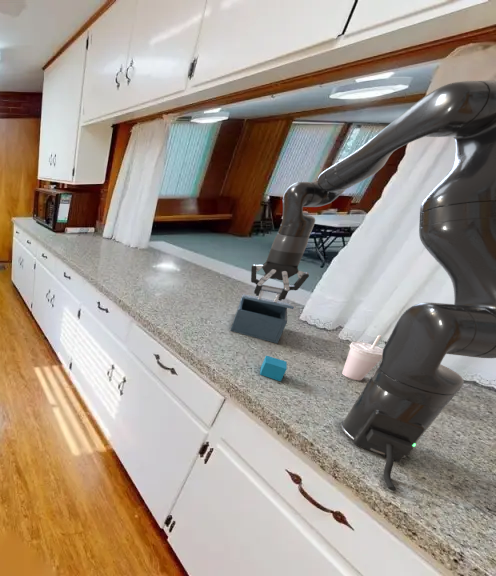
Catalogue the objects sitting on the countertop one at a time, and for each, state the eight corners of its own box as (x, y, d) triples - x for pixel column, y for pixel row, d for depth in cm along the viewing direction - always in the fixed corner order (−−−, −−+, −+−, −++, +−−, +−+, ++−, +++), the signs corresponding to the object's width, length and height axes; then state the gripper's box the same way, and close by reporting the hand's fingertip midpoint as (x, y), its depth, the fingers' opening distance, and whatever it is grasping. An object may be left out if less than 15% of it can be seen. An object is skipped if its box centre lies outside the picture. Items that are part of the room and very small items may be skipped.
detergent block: (280, 381, 82) (286, 369, 81) (259, 374, 85) (265, 362, 83) (280, 373, 85) (286, 361, 83) (260, 367, 88) (266, 355, 86)
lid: (293, 309, 93) (300, 291, 92) (242, 298, 101) (248, 282, 100) (287, 305, 105) (293, 289, 104) (242, 295, 113) (247, 281, 112)
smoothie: (360, 385, 80) (387, 343, 74) (329, 371, 86) (352, 330, 80) (375, 381, 82) (402, 338, 76) (344, 366, 87) (367, 326, 82)
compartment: (277, 343, 99) (287, 321, 95) (230, 330, 107) (238, 309, 103) (277, 326, 108) (287, 305, 105) (234, 315, 116) (242, 295, 113)
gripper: (257, 247, 94) (240, 295, 101) (321, 255, 85) (298, 307, 92) (258, 243, 100) (241, 289, 106) (319, 250, 90) (297, 299, 97)
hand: (268, 297), depth 99 cm, fingers closed on lid, 5 cm apart
